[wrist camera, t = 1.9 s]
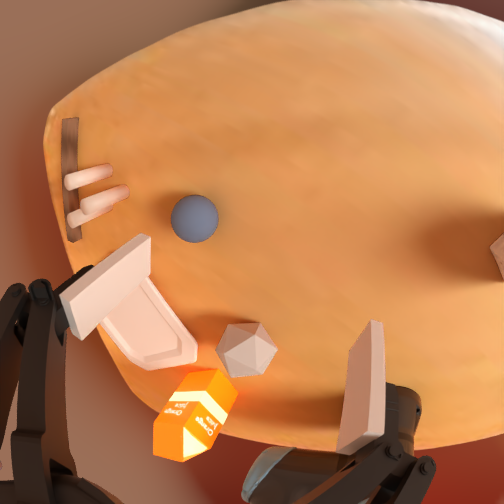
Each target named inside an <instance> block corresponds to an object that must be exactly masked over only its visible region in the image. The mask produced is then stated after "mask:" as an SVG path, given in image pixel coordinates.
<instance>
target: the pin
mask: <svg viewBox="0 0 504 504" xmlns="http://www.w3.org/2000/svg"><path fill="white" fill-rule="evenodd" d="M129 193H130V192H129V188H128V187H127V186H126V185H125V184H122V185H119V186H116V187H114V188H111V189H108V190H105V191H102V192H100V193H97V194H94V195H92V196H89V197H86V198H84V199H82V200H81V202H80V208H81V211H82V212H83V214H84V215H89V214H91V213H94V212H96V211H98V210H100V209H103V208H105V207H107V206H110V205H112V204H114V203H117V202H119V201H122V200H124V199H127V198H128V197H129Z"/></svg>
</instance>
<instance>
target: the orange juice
mask: <svg viewBox="0 0 504 504" xmlns="http://www.w3.org/2000/svg"><path fill="white" fill-rule="evenodd" d="M237 395H238V392H237V391H236V389H235V388H234V387H233V386H232V385H231V384H230V382H229V381H228V380H227V379H226V377H225V376H224V375H223V374H222V373H221V371H220V370H219V369H213V370H206V371H198V372H189V373H188V374H187V375H186V377H185V378H184V380H183V381H182V383H181V384H180V386H179V387H178V388H177V390H176V391H175V392H174V394H173V395H172V397H171V398H170V400H169V401H168V403H167V404H166V406H165V407H164V409H163V410H162V411H161V413H160V414H159V416H158V417H157V419H156V420H155V421H154V437H153V454H154V455H157V456H160V457H164V458H168V459H172V460H176V461H181V462H184V461H185V460H188V459H190V458H192V457H194V456H196V455H198V454H200V453H202V452H204V451H206V450H208V449H210V448H211V446H212V444H213V443H214V441H215V439H216V437H217V435H218V433H219V431H220V429H221V427H222V425H223V424H224V422H225V420H226V418H227V416H228V413H229V411H230V409H231V407H232V405H233V403H234V401H235V399H236V397H237Z"/></svg>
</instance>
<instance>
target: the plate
mask: <svg viewBox="0 0 504 504" xmlns="http://www.w3.org/2000/svg"><path fill="white" fill-rule="evenodd" d="M100 324H101V325H102V327H103V328H104V329H105V331H106V332H107V333H108V335H109V336H110V337H111V338H112V340H113V341H114V342H115V344H116V345H117V346H118V347H119V348H120V350H121V351H122V352H123V353H124V355H125V356H126V357H127V358H128V359H129V360H130V361H131V362H132V363H134V364H136V365H138V366H139V367H141V368H143V369H145V370H148V371H150V370H156V369H162V368H168V367H173V366H179V365H184V364H189V363H194V362H195V361H196V360H197V349H198V344H197V341H196V340H195V339H194V337H193V336H192V335H191V334H190V332H189V331H188V330H187V329H186V327H185V326H184V325H183V323H182V322H181V321H180V319H179V318H178V317H177V316H176V314H175V313H174V312H173V310H172V309H171V308H170V306H169V305H168V303H167V302H166V301H165V299H164V298H163V297H162V295H161V294H160V292H159V291H158V290H157V288H156V287H155V285H154V284H153V283H152V281H151V280H150V278H149V277H148V276H147V277H146V278H145V279H144V280H143V281H142V282H141V283H140V284H139V285H138V286H137V287H136V288H135V289H134V290H133V291H132V292H131V293H129V294H128V295H127V296H126V297H125V298H124V299H123V300H122V301H121V302H120V303H119V304H118V305H117V306H116V307H115V308H114V309H113V310H112V311H111V312H110V313H109V314H108V315H107V316H106V317H105V318H104V319H103V320H102V321H101V322H100Z"/></svg>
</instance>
